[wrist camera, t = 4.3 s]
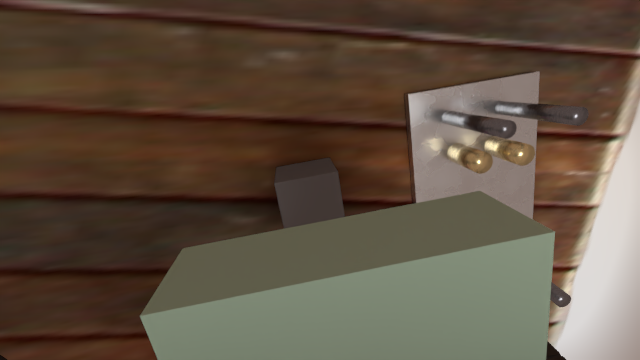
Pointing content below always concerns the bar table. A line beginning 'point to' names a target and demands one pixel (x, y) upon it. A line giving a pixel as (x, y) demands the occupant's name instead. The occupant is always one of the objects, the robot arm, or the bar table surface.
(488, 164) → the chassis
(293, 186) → the dark grey cube
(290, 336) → the board
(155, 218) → the bar table surface
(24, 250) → the bar table surface
